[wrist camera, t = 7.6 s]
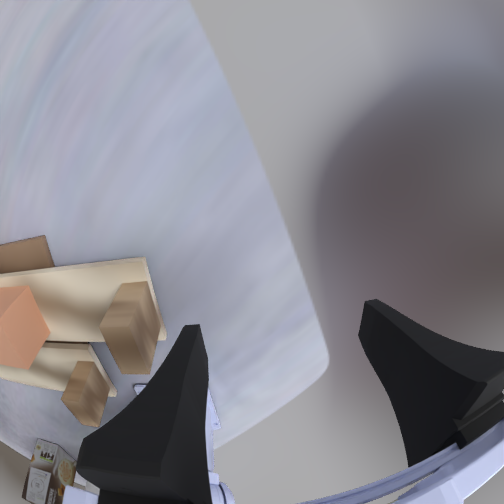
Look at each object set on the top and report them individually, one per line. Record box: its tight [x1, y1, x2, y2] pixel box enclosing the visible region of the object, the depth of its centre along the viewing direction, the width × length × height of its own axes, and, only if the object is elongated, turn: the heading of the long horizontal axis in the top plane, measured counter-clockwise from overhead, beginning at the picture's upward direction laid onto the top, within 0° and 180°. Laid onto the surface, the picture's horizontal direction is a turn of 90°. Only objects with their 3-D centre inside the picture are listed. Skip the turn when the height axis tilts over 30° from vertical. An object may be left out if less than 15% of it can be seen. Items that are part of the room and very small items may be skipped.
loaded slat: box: [0, 257, 167, 374], centre depth 17 cm, size 7×20×6 cm, turn 94°
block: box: [0, 285, 51, 370], centre depth 16 cm, size 5×5×5 cm
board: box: [0, 235, 88, 344], centre depth 20 cm, size 18×22×1 cm
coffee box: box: [22, 439, 77, 504], centre depth 27 cm, size 9×6×16 cm
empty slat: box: [0, 342, 117, 427], centre depth 19 cm, size 7×20×6 cm, turn 94°
